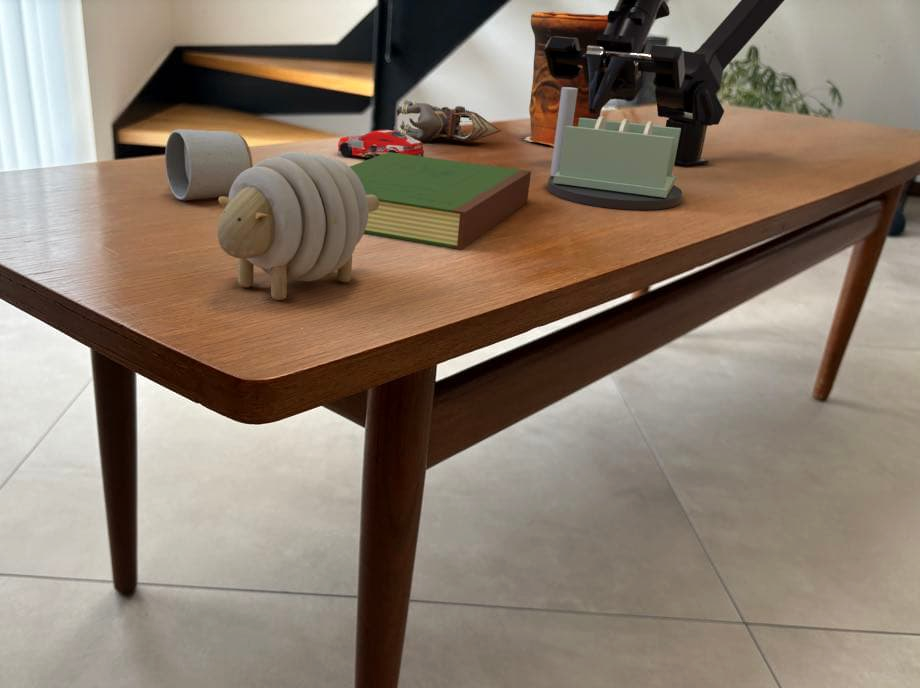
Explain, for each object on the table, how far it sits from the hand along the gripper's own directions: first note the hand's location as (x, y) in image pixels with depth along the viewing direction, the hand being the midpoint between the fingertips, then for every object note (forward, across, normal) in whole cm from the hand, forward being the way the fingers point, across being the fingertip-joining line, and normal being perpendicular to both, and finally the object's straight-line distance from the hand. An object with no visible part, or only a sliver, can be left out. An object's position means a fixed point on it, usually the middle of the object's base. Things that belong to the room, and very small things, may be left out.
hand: (591, 112), depth 119 cm
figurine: (-2, +28, -15) cm, 31 cm away
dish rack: (+10, -6, 0) cm, 12 cm away
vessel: (-12, +14, -25) cm, 31 cm away
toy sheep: (+50, +2, +38) cm, 63 cm away
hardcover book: (+29, +8, +17) cm, 34 cm away
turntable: (+11, -7, -1) cm, 13 cm away
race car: (+13, +28, 0) cm, 30 cm away
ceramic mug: (+37, +30, +25) cm, 54 cm away
